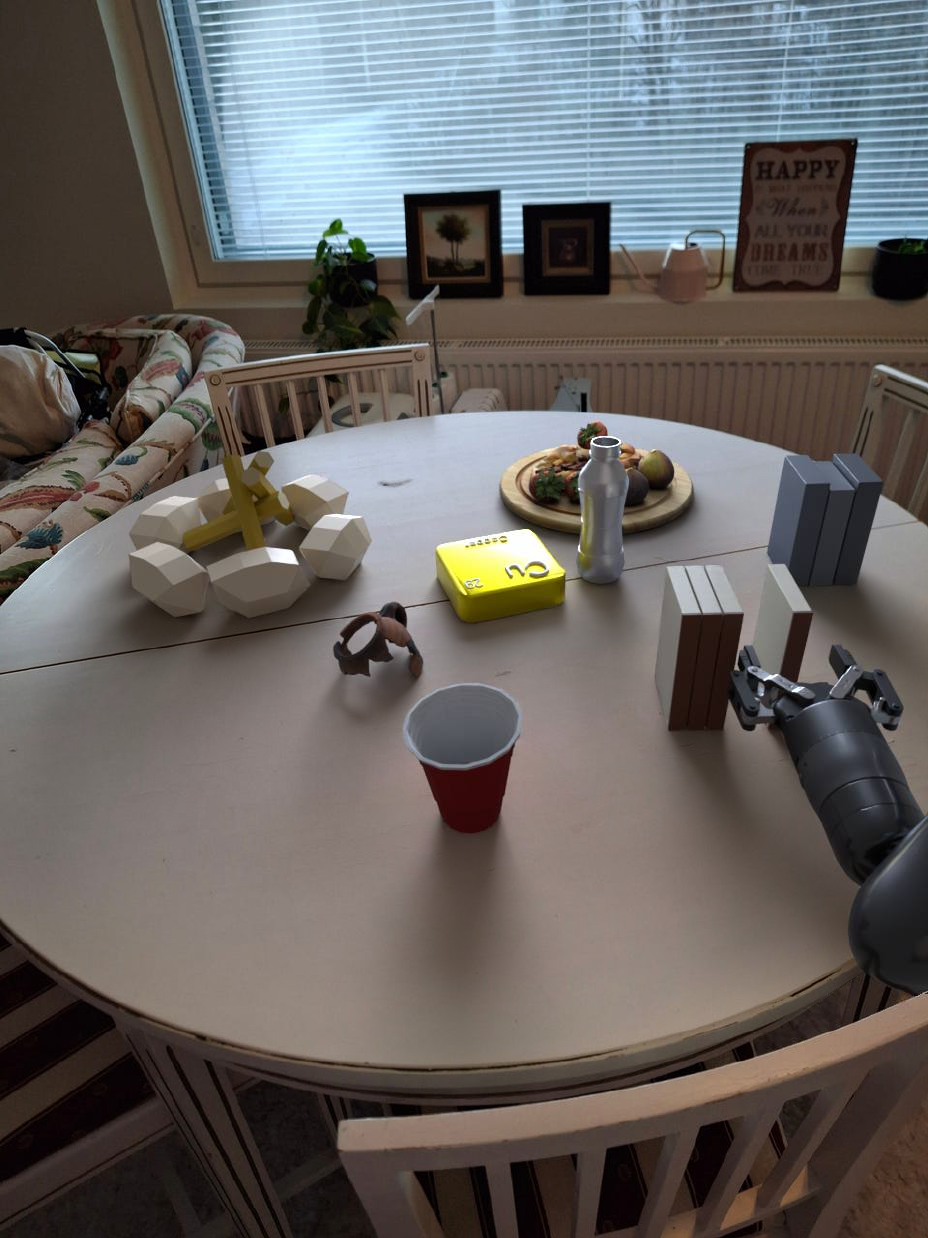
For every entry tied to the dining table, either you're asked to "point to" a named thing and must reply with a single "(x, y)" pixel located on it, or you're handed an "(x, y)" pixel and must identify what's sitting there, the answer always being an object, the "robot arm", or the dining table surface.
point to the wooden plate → (552, 493)
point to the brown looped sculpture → (377, 641)
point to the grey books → (824, 518)
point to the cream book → (781, 626)
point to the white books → (697, 647)
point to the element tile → (499, 576)
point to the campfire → (260, 571)
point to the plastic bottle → (602, 512)
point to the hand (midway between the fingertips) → (789, 651)
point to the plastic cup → (465, 750)
